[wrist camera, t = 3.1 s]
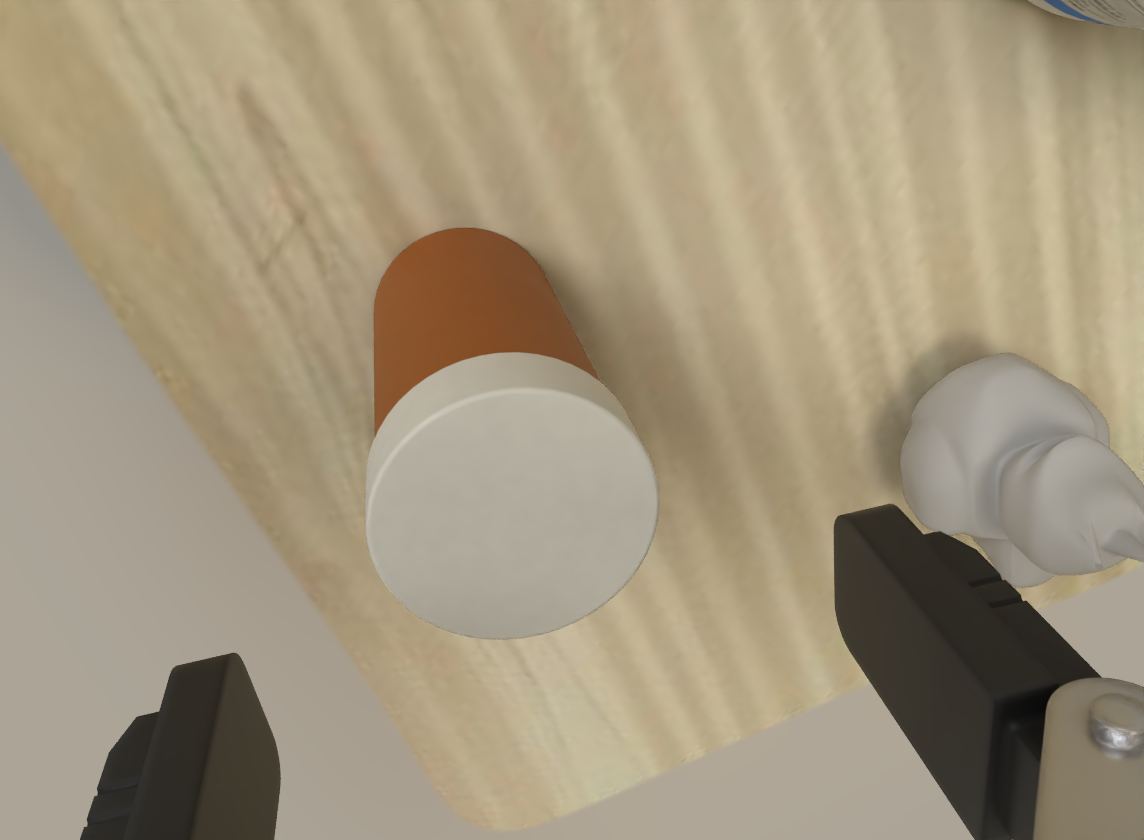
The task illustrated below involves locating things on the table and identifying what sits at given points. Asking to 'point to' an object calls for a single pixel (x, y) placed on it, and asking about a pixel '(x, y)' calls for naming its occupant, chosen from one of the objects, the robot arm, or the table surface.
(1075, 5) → the supplement tub
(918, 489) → the grey figurine
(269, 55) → the table surface
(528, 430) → the pill bottle
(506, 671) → the table surface
